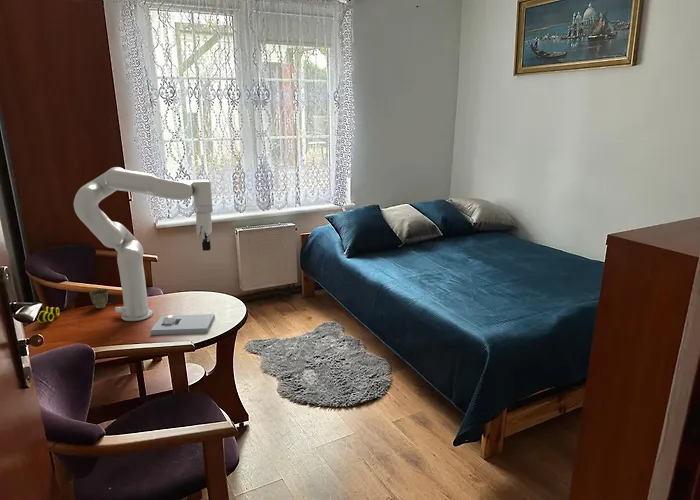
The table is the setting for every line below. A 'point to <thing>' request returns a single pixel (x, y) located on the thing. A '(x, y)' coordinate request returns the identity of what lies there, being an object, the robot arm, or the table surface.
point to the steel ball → (169, 320)
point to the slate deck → (184, 324)
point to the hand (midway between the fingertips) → (206, 249)
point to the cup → (99, 298)
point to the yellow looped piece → (48, 314)
